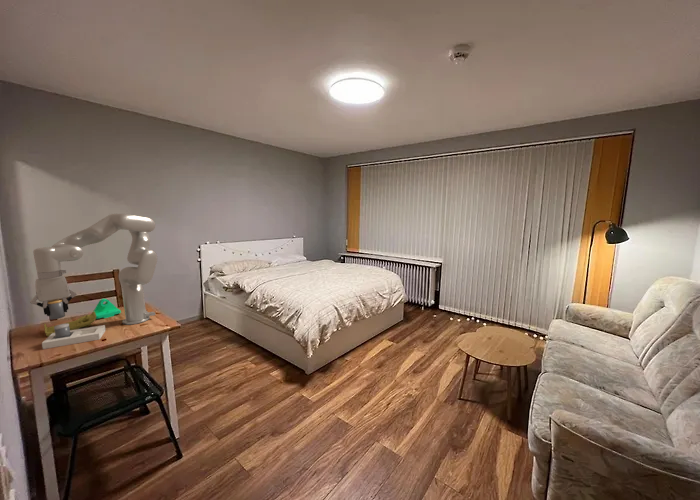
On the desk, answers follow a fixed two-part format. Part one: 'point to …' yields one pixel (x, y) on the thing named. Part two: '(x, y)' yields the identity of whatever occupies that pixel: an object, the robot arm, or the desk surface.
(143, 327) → the desk surface
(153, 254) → the robot arm
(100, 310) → the camera mount
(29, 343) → the desk surface
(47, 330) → the plastic component
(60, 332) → the grey cylinder
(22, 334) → the desk surface
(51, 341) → the tray
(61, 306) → the gray jar
